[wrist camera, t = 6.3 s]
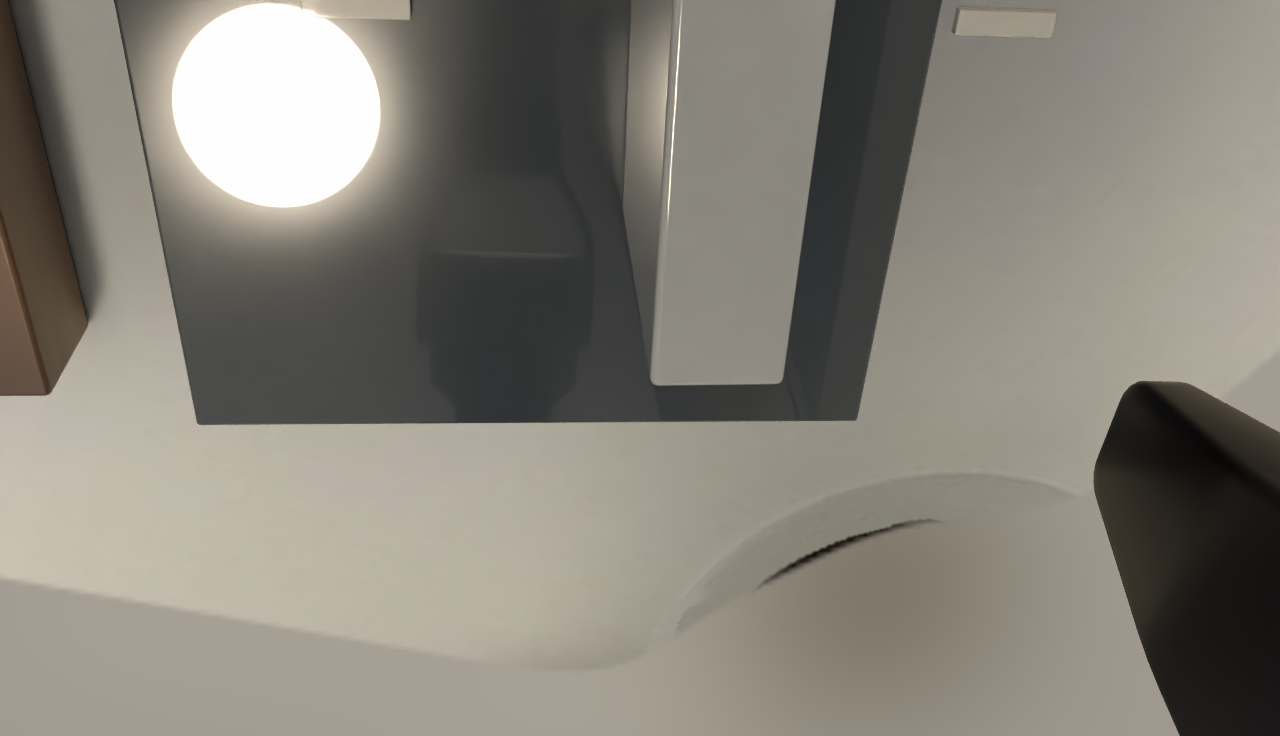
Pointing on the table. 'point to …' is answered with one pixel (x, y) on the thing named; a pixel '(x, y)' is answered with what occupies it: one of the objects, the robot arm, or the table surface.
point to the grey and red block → (720, 179)
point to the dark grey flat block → (479, 207)
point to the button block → (30, 243)
